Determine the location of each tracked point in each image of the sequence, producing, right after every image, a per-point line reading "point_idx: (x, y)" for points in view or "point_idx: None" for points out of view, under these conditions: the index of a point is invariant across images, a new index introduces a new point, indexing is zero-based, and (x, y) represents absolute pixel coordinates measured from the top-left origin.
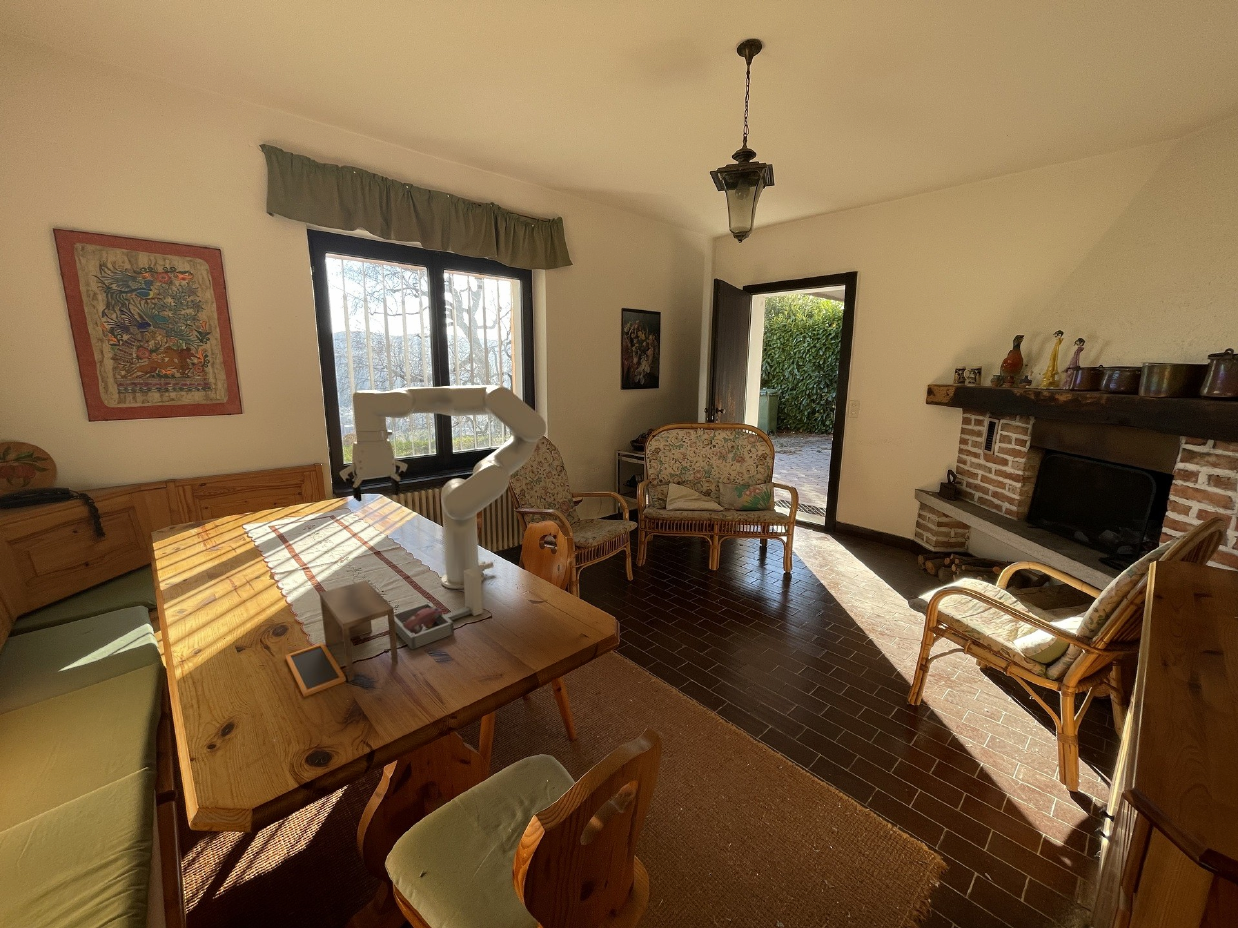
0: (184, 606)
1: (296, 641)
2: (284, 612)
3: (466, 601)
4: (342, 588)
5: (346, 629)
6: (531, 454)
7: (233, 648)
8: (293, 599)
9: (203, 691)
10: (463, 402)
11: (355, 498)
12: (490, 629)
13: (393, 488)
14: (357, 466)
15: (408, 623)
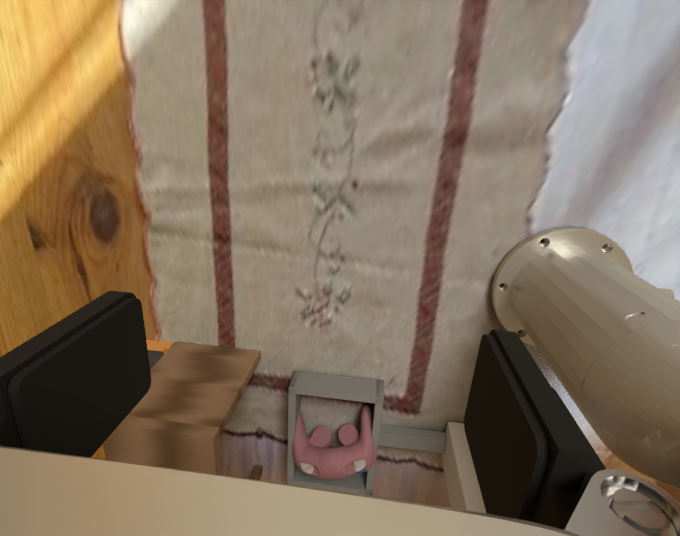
0: None
1: (131, 289)
2: (114, 118)
3: (450, 443)
4: (151, 439)
5: None
6: None
7: (24, 226)
8: (138, 39)
9: (3, 338)
10: None
11: (110, 292)
12: (431, 502)
13: (487, 430)
14: None
15: (296, 463)
